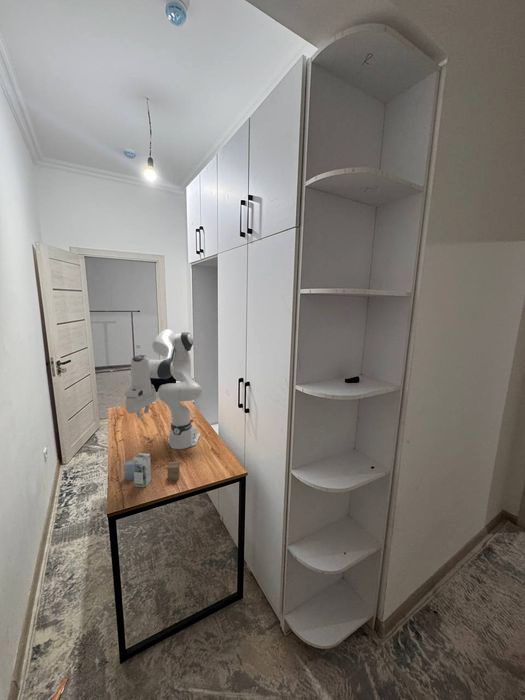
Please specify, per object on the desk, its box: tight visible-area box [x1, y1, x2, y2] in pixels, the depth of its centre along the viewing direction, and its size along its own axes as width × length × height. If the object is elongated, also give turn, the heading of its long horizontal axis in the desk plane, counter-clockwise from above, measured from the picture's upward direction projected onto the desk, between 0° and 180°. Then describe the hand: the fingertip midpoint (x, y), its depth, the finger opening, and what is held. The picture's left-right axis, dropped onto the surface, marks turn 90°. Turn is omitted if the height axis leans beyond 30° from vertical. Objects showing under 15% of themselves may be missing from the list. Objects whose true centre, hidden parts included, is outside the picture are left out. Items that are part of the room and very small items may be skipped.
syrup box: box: [132, 452, 152, 488], centre depth 139 cm, size 6×6×14 cm
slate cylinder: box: [123, 459, 134, 482], centre depth 144 cm, size 5×5×8 cm
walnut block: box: [166, 461, 180, 482], centre depth 145 cm, size 5×5×7 cm
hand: (143, 415), depth 144 cm, fingers open, 4 cm apart
